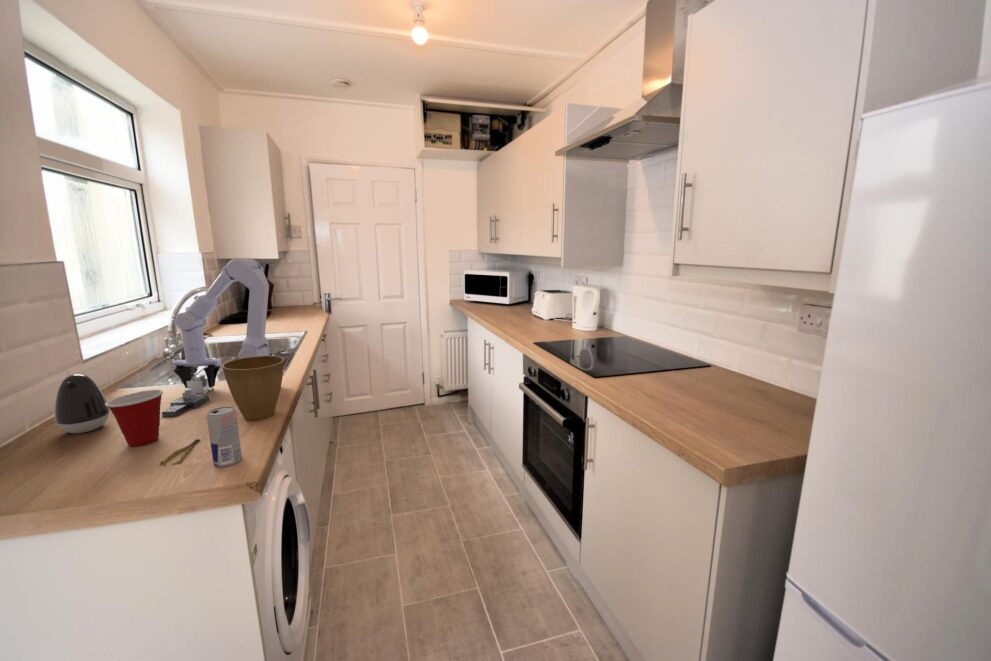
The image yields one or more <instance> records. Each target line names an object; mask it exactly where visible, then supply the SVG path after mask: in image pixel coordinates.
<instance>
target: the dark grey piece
mask: <svg viewBox="0 0 991 661" xmlns="http://www.w3.org/2000/svg"><path fill="white" fill-rule="evenodd" d="M181 395H182V396H181V397H179V398H176V399H175V400H173V401H171V402H170V403H169V404H170V407H169V408H167V409H165V410H162V411H161V415H162V417H163V418H167V417H169V418H170V417H171V418H172V417H178V416H179V415H180V414H182V413H184V412H187V410H190V409H198V408H199V407H200V406H203V405H204V404H206V403H207V401H208V402H210V401H211V400H210V394H207V393H205V394H196V390H193V388H189V389H188V388H185V389H184V392H182V394H181ZM209 400H210V401H209ZM202 404H203V405H202Z"/></svg>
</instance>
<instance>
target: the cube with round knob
mask: <svg viewBox="0 0 991 661" xmlns="http://www.w3.org/2000/svg"><path fill="white" fill-rule="evenodd" d="M186 382H187V388H186V389H189V388H193V390H196V393H204V392H206V391H208V390H209V389H211V388H213V389H214V386H213V387H209V385H208V379H207V376H206V373H205V374H204V373H201V374H197V375H194V376H192V378H191V379H190V380H188V381H186ZM208 392H209V391H208ZM206 393H207V392H206ZM204 394H205V393H204Z"/></svg>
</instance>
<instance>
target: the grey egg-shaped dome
mask: <svg viewBox="0 0 991 661" xmlns="http://www.w3.org/2000/svg"><path fill="white" fill-rule="evenodd" d="M106 402H108V401H107V399H106V397H105V395H104V394H103V392H102V390H101V389H100V387H99V386H98V385H97V383H96V382H95V381H94V380H93V379H92V378H91V377H89V376H88V375H86V374H81V373H74V374H71V375H68V376H66V377H65V378H64V379H63V380H62V381H61V383H60V385H59V387H58V389H57V393H56V397H55V404H54V421H55V423H56V424H57V425H58V426H59V428H60V429H61V430H62V431H64V432H66V433H69V434H84V433H88V432H91V431H92V432H93V431H95V430H97V429H98V428H101V427H102V426H103V425H104V424H105V423H106V422H107V420H108V418H109V413H110V412H111V410H110V409H109V408H108V407H106V406H105V403H106Z"/></svg>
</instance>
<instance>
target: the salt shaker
mask: <svg viewBox="0 0 991 661" xmlns="http://www.w3.org/2000/svg"><path fill="white" fill-rule="evenodd" d="M181 357H182V358H181V360H186V359H185V352H184V348H183V349H182V350H181ZM198 368H199V366H191V379H192V376H194V375H198V374H197V373H198V372H197V371H198Z"/></svg>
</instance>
